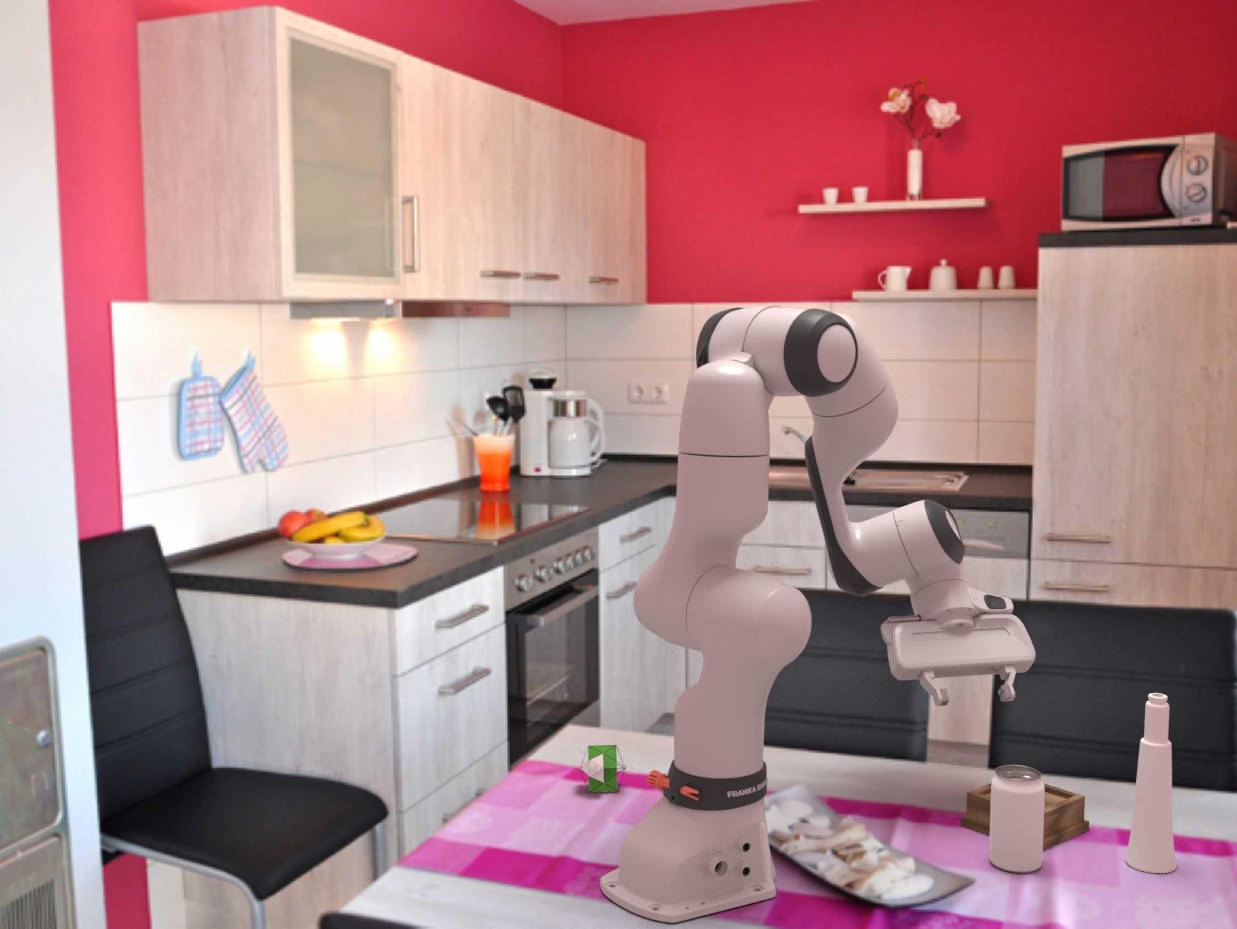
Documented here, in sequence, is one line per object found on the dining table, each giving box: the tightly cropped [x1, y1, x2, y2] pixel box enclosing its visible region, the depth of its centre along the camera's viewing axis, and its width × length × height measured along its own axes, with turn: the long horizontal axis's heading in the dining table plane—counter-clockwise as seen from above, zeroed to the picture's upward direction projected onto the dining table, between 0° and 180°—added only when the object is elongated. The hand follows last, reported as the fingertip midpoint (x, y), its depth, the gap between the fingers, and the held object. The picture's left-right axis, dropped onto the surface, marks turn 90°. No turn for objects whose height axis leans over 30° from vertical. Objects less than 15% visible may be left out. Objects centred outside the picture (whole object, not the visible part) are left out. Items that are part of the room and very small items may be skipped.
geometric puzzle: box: [578, 744, 628, 793], centre depth 193 cm, size 7×7×8 cm
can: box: [988, 764, 1045, 874], centre depth 166 cm, size 6×6×12 cm
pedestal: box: [960, 782, 1090, 851], centre depth 178 cm, size 12×12×5 cm
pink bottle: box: [1124, 692, 1177, 875], centre depth 165 cm, size 6×6×22 cm
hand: (976, 701), depth 177 cm, fingers open, 8 cm apart
